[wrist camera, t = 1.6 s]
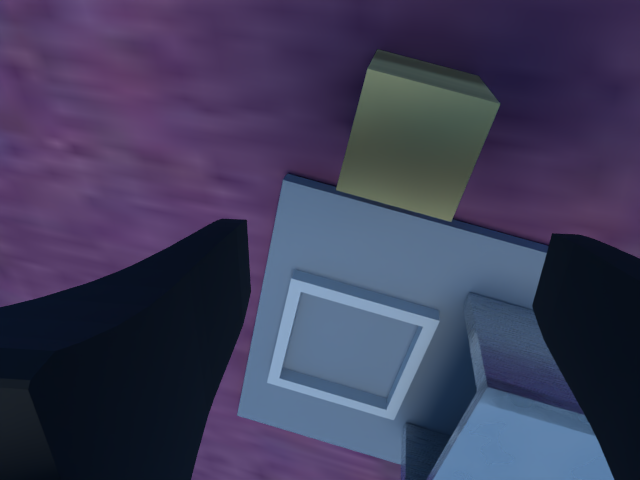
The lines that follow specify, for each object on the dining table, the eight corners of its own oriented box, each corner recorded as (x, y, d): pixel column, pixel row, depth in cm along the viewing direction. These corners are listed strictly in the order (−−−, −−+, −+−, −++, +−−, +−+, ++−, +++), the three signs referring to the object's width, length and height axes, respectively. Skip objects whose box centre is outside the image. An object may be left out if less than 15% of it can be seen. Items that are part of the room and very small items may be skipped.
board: (287, 173, 21) (278, 186, 19) (658, 276, 20) (676, 297, 19) (241, 405, 29) (232, 426, 28) (505, 484, 28) (510, 509, 27)
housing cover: (469, 292, 21) (487, 387, 16) (656, 345, 21) (734, 458, 16) (401, 431, 26) (399, 536, 21) (551, 476, 26) (584, 592, 21)
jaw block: (377, 48, 18) (367, 68, 14) (478, 75, 18) (500, 103, 13) (351, 146, 20) (335, 190, 16) (441, 170, 20) (451, 222, 15)
